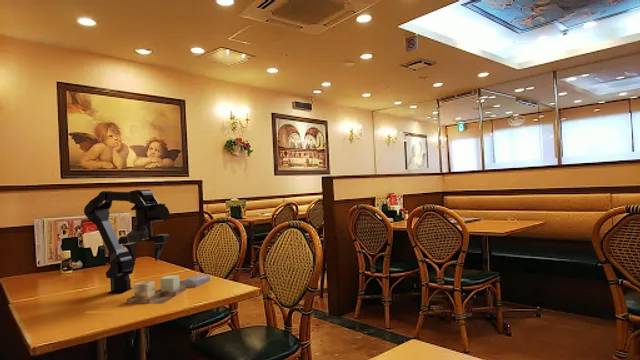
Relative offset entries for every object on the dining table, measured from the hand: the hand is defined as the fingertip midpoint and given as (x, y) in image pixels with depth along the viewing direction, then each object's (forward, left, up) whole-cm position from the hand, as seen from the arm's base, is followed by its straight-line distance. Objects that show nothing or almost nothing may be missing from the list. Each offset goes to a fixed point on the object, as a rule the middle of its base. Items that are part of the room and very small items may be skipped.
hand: (145, 261), depth 153 cm
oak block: (+6, -12, -12) cm, 18 cm away
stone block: (+14, +11, -13) cm, 22 cm away
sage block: (+12, -3, -12) cm, 17 cm away
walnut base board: (+9, -8, -12) cm, 17 cm away
